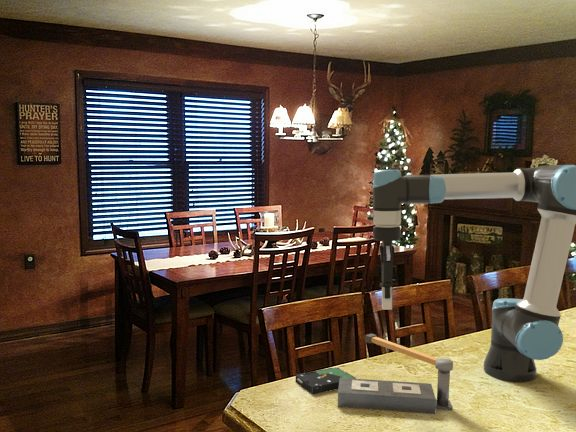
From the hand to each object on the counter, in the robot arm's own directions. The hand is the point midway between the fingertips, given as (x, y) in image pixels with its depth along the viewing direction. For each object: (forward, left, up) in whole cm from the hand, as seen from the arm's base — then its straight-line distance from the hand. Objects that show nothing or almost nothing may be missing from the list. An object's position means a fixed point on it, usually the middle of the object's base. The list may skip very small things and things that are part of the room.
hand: (387, 308), depth 154 cm
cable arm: (-6, 0, -13) cm, 14 cm away
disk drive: (+17, -1, -24) cm, 29 cm away
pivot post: (-15, +9, -23) cm, 29 cm away
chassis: (0, +9, -23) cm, 25 cm away
